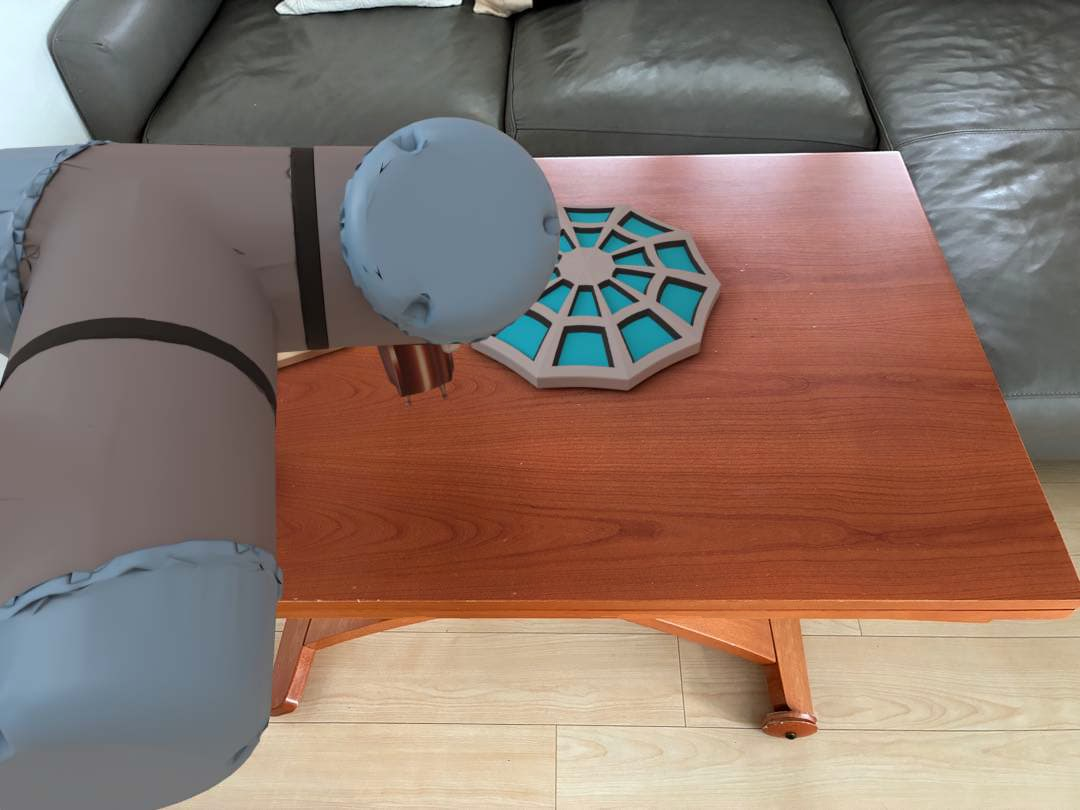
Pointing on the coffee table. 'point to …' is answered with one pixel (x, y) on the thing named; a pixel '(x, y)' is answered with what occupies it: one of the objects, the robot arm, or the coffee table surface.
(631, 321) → the decorative platform
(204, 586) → the robot arm
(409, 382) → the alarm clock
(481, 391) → the coffee table surface
